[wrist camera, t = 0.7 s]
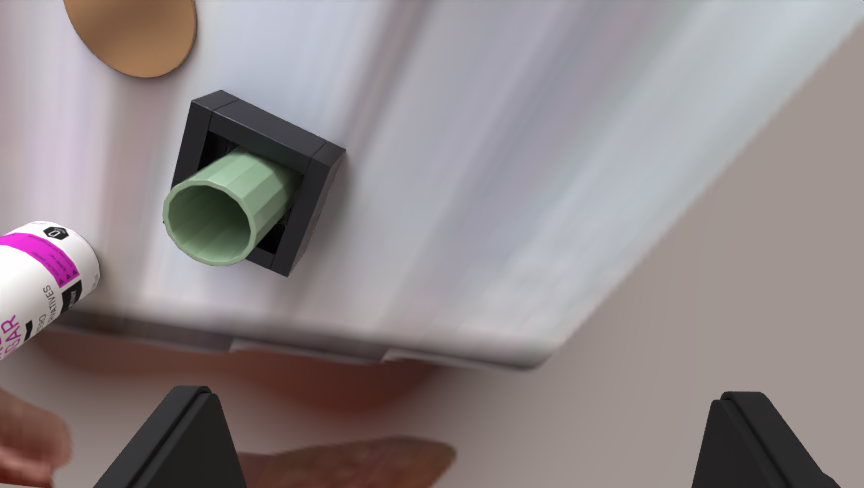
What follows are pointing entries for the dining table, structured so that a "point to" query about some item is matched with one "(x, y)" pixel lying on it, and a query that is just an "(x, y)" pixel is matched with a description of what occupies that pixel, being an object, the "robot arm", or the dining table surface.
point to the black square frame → (272, 139)
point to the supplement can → (41, 279)
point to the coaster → (136, 33)
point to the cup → (229, 206)
